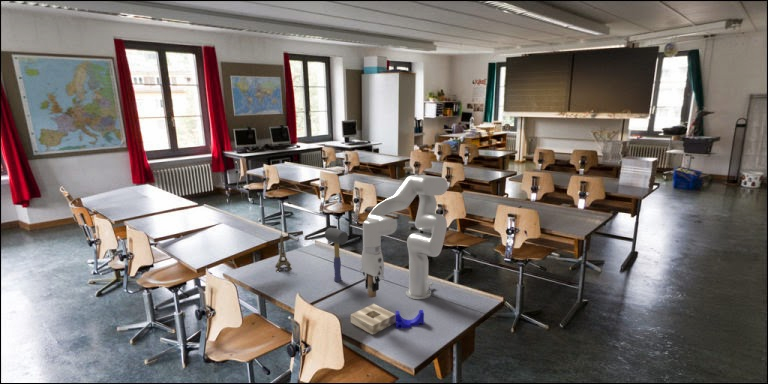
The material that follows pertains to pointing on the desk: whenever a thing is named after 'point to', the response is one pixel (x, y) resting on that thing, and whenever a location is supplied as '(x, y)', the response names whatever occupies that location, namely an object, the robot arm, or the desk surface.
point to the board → (373, 319)
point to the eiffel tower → (282, 261)
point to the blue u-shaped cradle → (408, 323)
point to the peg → (370, 287)
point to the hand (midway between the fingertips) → (372, 288)
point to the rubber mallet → (336, 248)
